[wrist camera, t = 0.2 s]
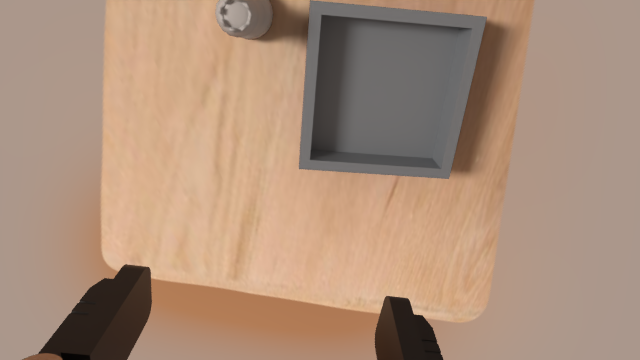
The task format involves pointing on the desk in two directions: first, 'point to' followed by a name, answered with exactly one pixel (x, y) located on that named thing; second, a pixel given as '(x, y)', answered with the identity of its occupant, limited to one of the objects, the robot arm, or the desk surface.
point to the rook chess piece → (244, 17)
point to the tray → (386, 88)
